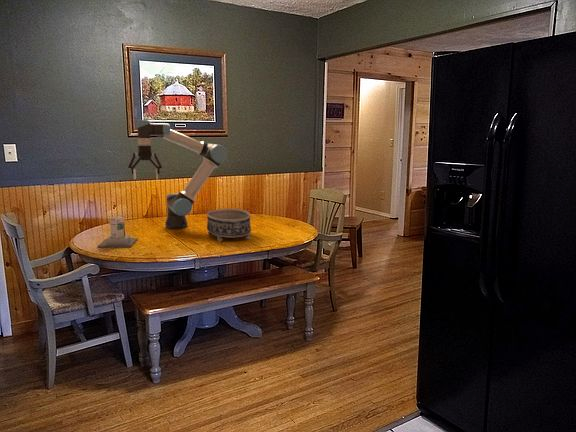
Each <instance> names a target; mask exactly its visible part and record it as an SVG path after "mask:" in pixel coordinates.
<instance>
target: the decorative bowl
mask: <svg viewBox="0 0 576 432" xmlns="http://www.w3.org/2000/svg"><path fill="white" fill-rule="evenodd" d="M206 217H207V223H206V229H207V233H208V234H210V235H211V234H212V235H213V236H216V237H217V239H216V240H217V242H220V241H221V242H223V241H224V238H232V239H233V238H242V237H244V239H245V240H251V235H250V234H251V233H252V232H251V231H252V228H251V227H252V226H251V213H250V212H249V211H247V210H245V209H239V208H224V209H223V208H222V209H221V208H220V209H212V210H209V211H207V212H206Z"/></svg>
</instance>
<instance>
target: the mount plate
mask: <svg viewBox="0 0 576 432" xmlns="http://www.w3.org/2000/svg"><path fill="white" fill-rule="evenodd" d="M138 239H139V238H138V237H131V234H126V233H125V237H124V238H111V234H110V235H108V237H106V238H105V239H104V240H103V241H101V242H100V243H99V244H98V245H97V248H98V249H102V248H103V249H107V248H108V249H112V248H113V249H115V248H118V249H119V248H121V249H123V248H132V247H133V246H134V245H135V243H137V241H138Z"/></svg>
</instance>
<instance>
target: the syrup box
mask: <svg viewBox="0 0 576 432" xmlns="http://www.w3.org/2000/svg"><path fill="white" fill-rule="evenodd" d="M109 231H110V235H111V238H124V237H125V234H126V228H125V217H124V216H119V215H118V216H113V217H109Z"/></svg>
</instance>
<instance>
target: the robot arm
mask: <svg viewBox="0 0 576 432" xmlns="http://www.w3.org/2000/svg"><path fill="white" fill-rule="evenodd" d="M136 126H137V127H136V128H137V144H138V145H137V146H138V149H137V151H138V152H134V153H132V158H131V160H130V162H129V163H128V165H127V166H128V167H127V168H129V169H131V175H133V180H137V172H136V167H137V166H138V164H139V163H140V162H141V161H149V162H150V163H151V164H153V166H154V167H155V178H156V179H155V180H157V181H158V180H159V175H160V174H161V173H160V172H161V171H160V169H162V168H163V165H162V162H161V161H160V159H159V157H158V155H157V152H155V153H152V146H151V145H152V142H151V141H152V139H151V138H152V137H151V136H156V137H158V138H161V139H164V140H166V141H169V142H171V143H173V144H176V145H179V146H180V147H182V148H185V149H188V150H190V151H192V152H195V153H196V154H197V155H199V156H201V157H202V159H203V160H202V163H201V164H200V166H199V167H198V168H197V169H196V171H195V172H194V174H193V176H192V177H191V179H190V180H189V181H188V183H187V184H186V186H185V187H184V189H183V190H180V191H179V192H178V193H167V195H166V212H167V217H166V220H165V222H164V228H166V229H170V230H179V229H186V228H188V226H189V225H188V220H187V218H186V216H188V215H189V214H190V213H191V211H192V209H193V205H194V204H195V201H196V200H195V197H196V196H197V195H198V194H199V192H200V191H201V189H202V188H203V186H204V184H205V183H206V181H207V180H208V179H209V177H210V175H211V174H213V171H214V170H215V169H218V168H219V167H220V166H221V163H223V162H225V161H226V160H227V157H228V150H227V148H226V147H225V146H223V145H222V144H219V143H216V144H215V143H209V142H205V141H204V140H202V141H199V140H198V139H195V138H192V137H190V136H188V135H185V134H183V133H181V132H178V131H176V130H173V129H171V124H169V123H165V122H164V123H163V122H162V123H161V122H160V123H159V122H158V123H155V122H151V121H150V119H137V125H136ZM137 156H138V159H137V160H136V158H137ZM152 156H153V157H154V159H155V161H156V162H155V161H154V159H153V158H152ZM135 160H136V161H135Z"/></svg>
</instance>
